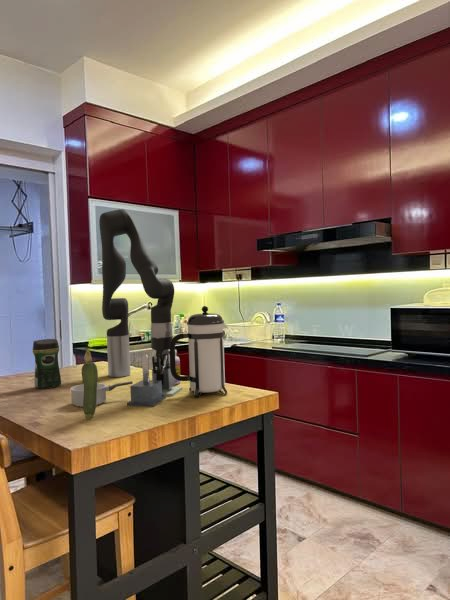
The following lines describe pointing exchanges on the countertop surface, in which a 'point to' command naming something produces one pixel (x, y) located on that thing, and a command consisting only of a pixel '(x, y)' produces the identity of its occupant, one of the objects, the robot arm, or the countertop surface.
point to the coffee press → (203, 353)
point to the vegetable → (89, 385)
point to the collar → (166, 378)
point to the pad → (171, 391)
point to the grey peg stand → (146, 389)
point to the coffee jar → (46, 363)
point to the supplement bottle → (177, 366)
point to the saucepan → (78, 395)
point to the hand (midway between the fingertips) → (163, 382)
